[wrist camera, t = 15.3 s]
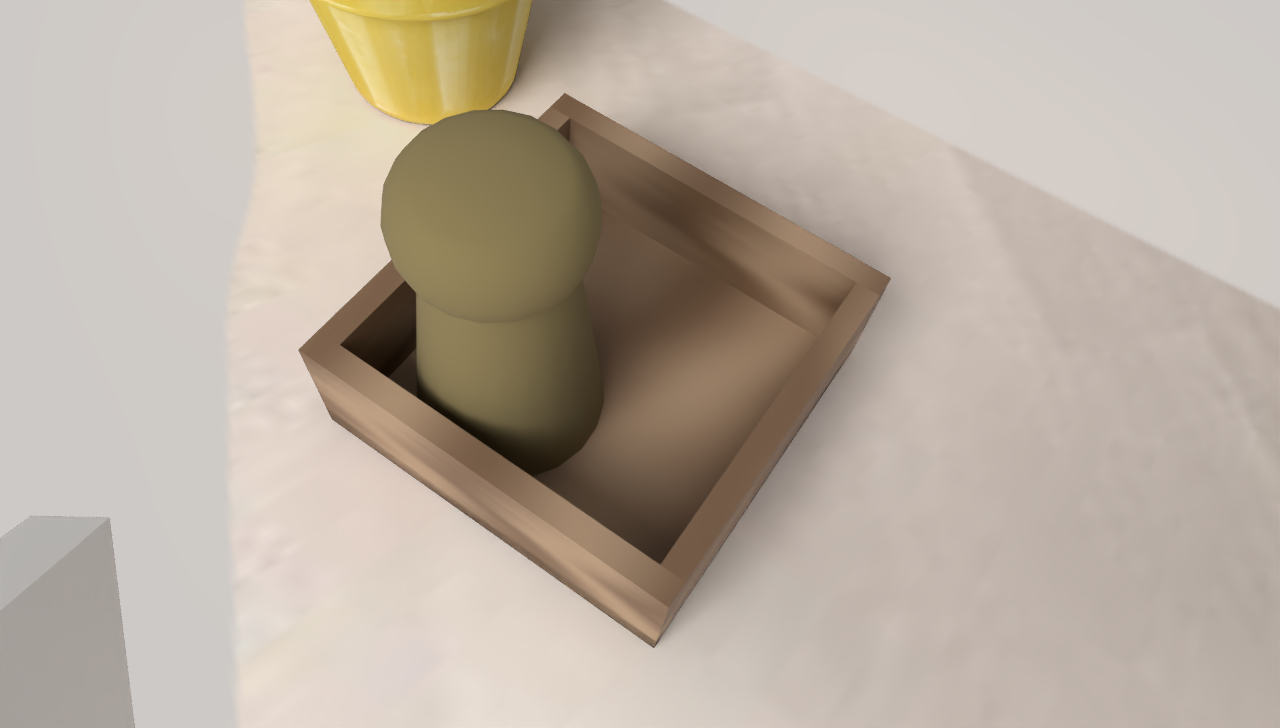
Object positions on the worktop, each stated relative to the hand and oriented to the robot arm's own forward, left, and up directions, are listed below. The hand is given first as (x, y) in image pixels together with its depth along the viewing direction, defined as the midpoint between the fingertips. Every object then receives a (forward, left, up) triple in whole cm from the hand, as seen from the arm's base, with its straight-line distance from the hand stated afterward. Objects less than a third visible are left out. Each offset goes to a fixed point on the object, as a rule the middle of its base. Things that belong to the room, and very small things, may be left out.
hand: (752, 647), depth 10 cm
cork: (+10, -8, -18) cm, 22 cm away
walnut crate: (+8, -10, -18) cm, 22 cm away
